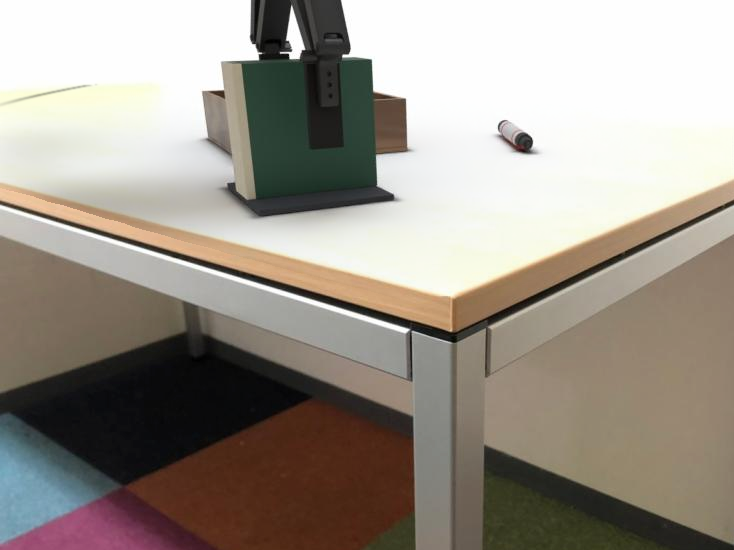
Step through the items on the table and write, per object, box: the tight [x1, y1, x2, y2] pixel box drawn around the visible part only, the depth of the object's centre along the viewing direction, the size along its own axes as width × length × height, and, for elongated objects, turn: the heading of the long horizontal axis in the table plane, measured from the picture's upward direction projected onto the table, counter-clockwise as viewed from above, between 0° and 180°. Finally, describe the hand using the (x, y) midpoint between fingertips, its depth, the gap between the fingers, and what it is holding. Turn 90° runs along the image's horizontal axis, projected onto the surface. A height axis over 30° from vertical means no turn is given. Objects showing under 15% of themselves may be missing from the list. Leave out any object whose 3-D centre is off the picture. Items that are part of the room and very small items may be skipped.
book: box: [220, 56, 378, 200], centre depth 66 cm, size 4×12×11 cm, turn 118°
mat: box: [226, 181, 395, 217], centre depth 68 cm, size 12×12×1 cm
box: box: [201, 89, 408, 156], centre depth 92 cm, size 21×19×6 cm
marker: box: [497, 119, 534, 152], centre depth 93 cm, size 15×2×2 cm, turn 7°
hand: (301, 136), depth 66 cm, fingers open, 13 cm apart
